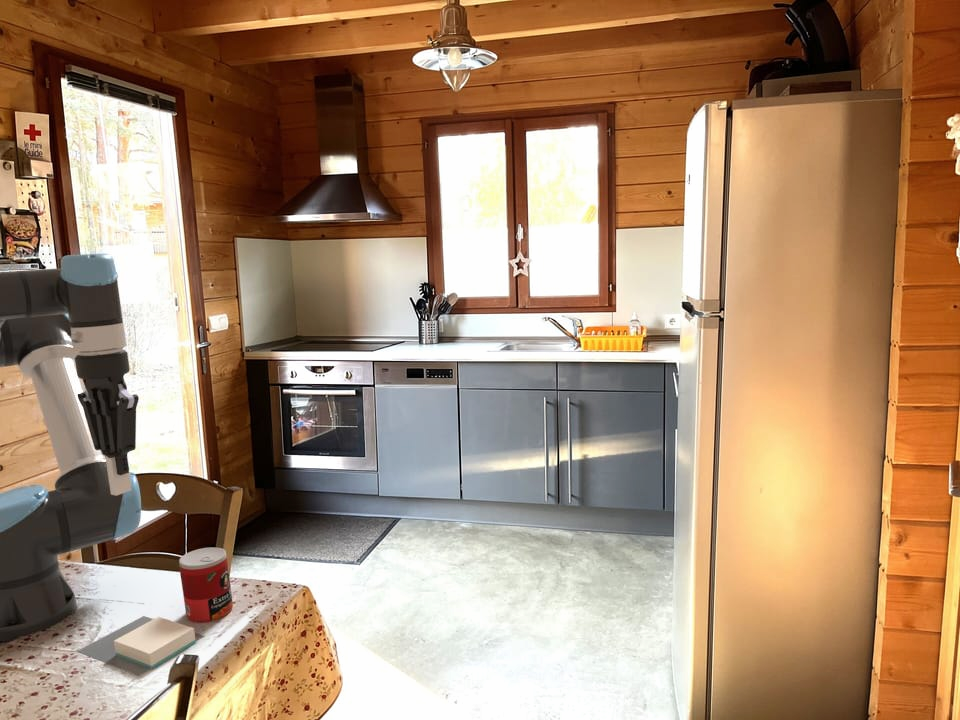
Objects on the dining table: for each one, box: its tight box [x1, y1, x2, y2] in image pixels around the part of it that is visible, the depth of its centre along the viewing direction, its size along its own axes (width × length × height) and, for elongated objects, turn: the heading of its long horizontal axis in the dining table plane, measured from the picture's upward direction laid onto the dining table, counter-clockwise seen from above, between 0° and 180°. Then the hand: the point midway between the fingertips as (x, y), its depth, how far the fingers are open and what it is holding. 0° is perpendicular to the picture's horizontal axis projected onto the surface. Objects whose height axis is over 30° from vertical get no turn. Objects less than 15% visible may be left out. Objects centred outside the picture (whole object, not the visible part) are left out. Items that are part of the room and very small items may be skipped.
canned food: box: [178, 546, 234, 624], centre depth 124 cm, size 8×8×11 cm
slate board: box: [76, 615, 205, 677], centre depth 116 cm, size 16×12×1 cm
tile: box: [114, 616, 197, 670], centre depth 114 cm, size 2×8×9 cm
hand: (121, 492), depth 117 cm, fingers closed
